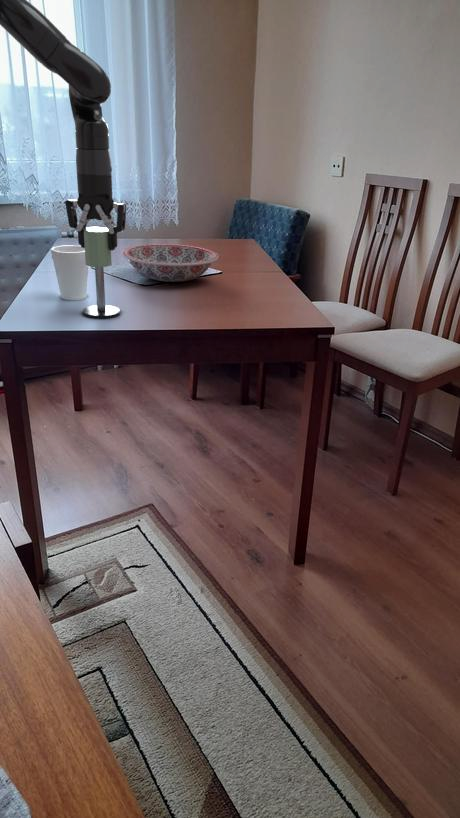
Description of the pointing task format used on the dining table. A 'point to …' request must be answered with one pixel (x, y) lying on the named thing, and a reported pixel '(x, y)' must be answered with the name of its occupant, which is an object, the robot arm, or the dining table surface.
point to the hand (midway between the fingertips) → (98, 248)
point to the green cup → (97, 247)
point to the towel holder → (100, 300)
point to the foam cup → (71, 271)
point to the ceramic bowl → (170, 261)
